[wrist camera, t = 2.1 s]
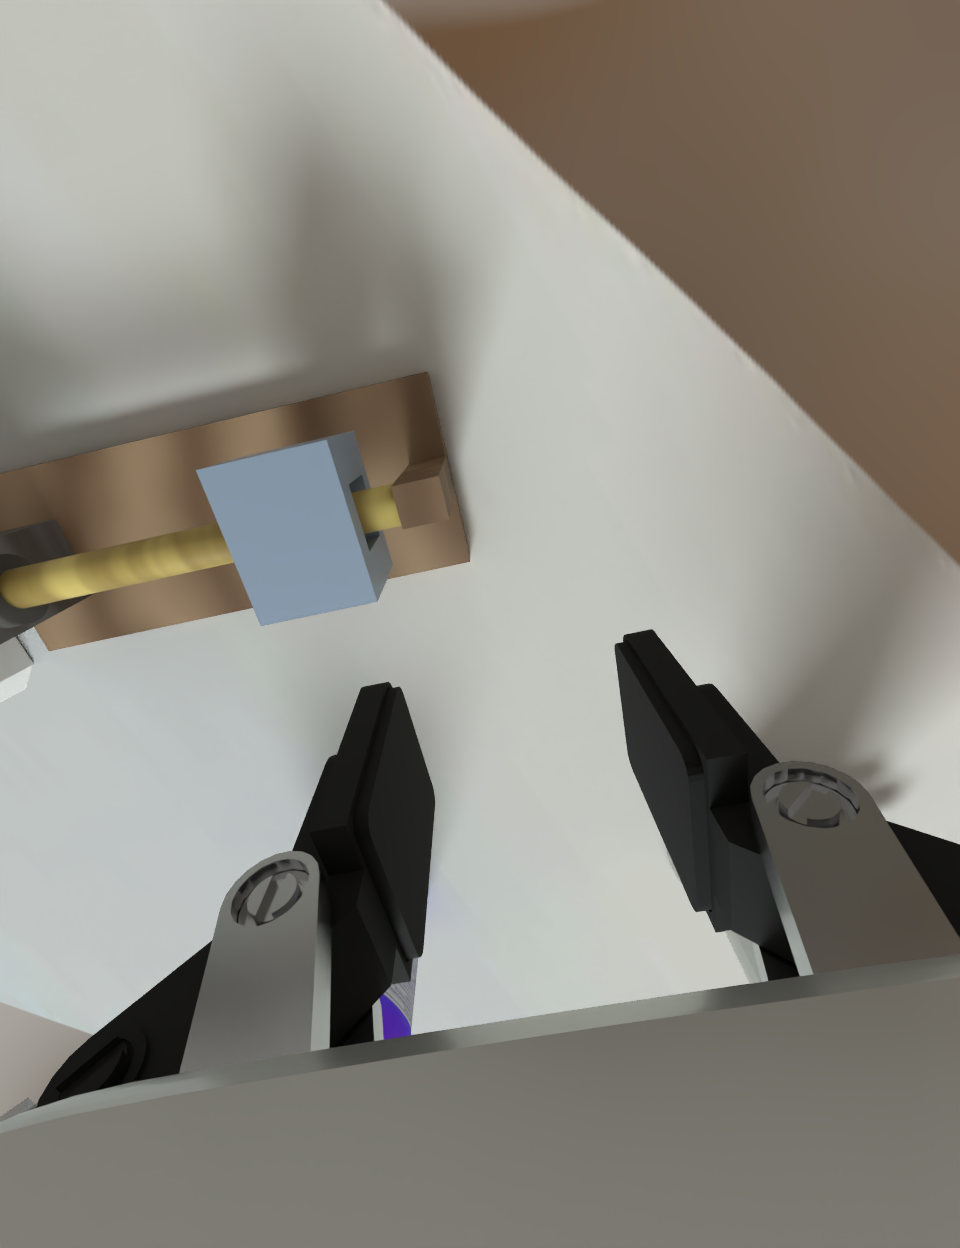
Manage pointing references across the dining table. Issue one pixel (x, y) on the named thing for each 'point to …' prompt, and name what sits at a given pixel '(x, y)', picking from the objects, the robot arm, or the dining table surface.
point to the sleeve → (299, 528)
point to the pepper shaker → (13, 668)
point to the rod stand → (205, 515)
